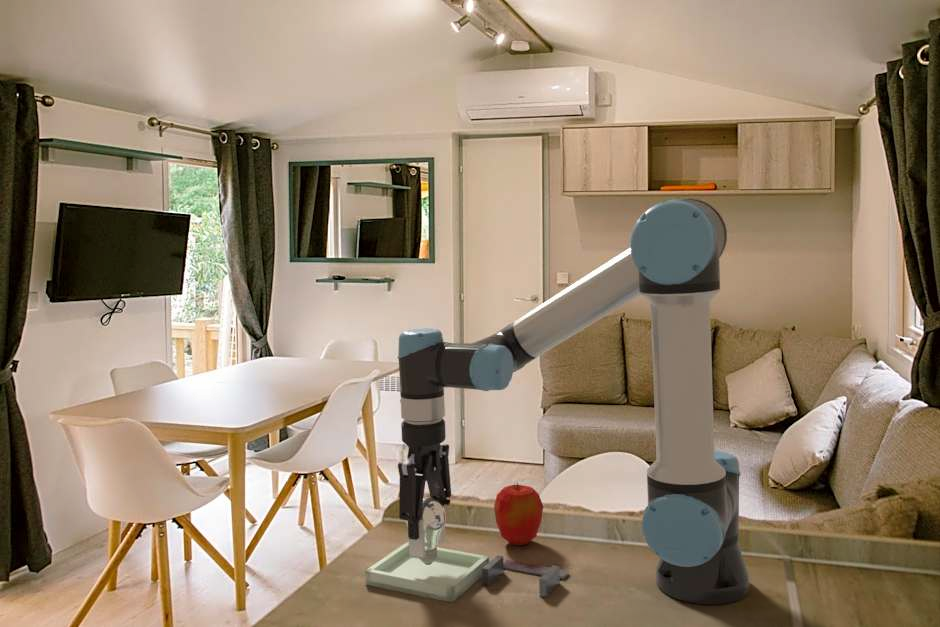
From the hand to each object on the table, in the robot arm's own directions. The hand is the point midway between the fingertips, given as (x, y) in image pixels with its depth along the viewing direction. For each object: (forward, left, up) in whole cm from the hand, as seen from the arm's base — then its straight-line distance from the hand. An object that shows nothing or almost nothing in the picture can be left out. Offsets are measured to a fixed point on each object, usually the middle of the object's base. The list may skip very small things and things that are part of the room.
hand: (427, 547), depth 155 cm
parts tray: (0, 0, -5) cm, 5 cm away
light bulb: (0, 0, -3) cm, 3 cm away
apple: (-8, -20, -6) cm, 23 cm away
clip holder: (-16, -6, -5) cm, 18 cm away
